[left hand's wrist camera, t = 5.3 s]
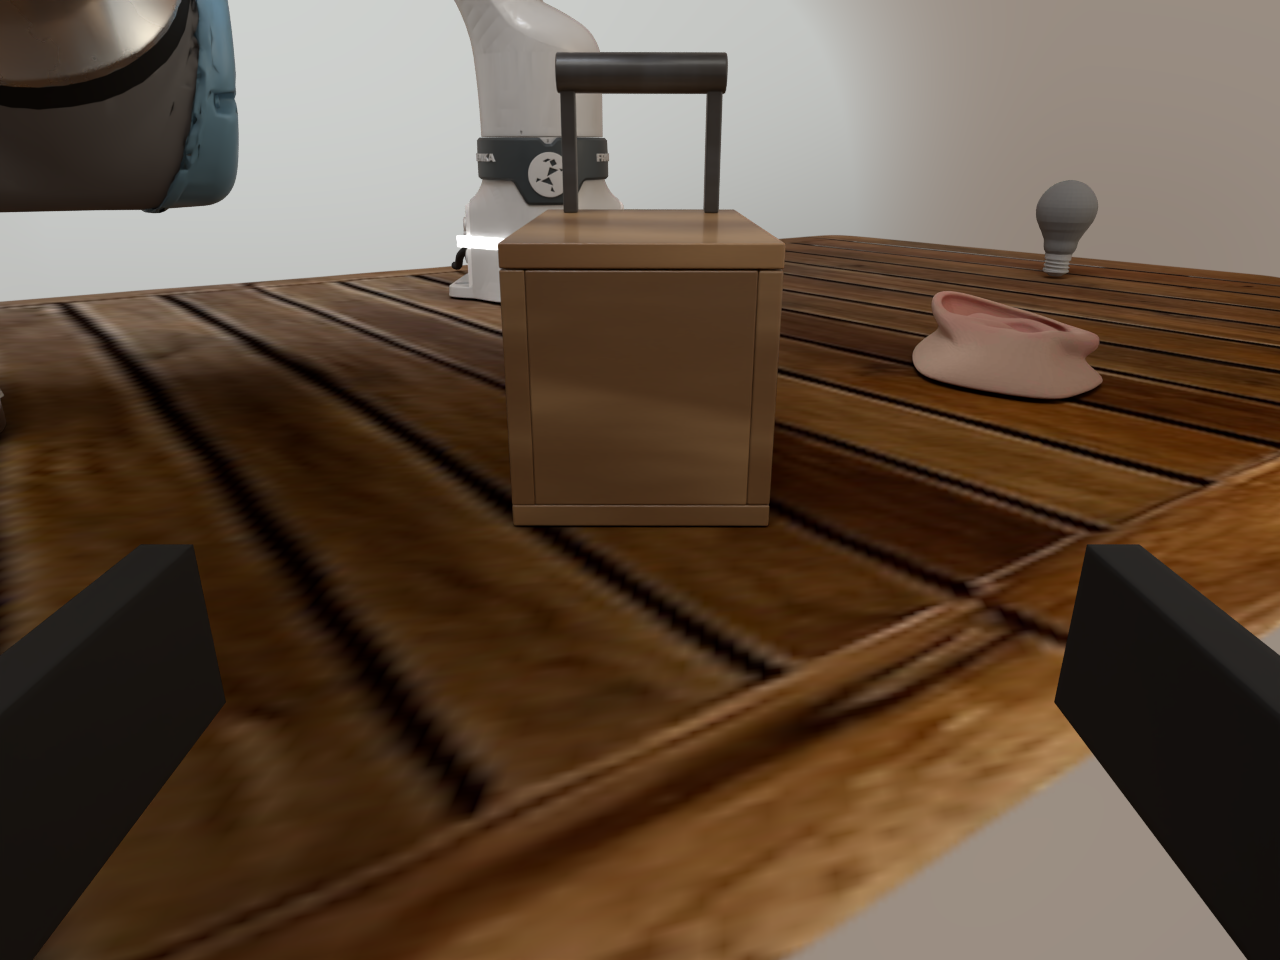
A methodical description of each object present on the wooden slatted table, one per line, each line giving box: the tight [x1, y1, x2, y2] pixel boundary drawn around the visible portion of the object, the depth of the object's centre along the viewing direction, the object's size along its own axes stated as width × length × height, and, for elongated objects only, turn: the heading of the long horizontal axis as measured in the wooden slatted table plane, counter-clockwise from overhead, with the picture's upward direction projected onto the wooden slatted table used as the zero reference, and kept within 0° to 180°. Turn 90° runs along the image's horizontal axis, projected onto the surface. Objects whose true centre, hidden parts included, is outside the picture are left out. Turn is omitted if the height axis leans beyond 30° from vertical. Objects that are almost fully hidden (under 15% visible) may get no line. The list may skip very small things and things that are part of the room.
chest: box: [499, 269, 784, 526], centre depth 38 cm, size 16×10×10 cm, turn 0°
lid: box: [498, 52, 785, 269], centre depth 35 cm, size 17×10×8 cm, turn 0°
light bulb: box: [1036, 180, 1098, 276], centre depth 93 cm, size 6×6×10 cm
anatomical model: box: [912, 291, 1102, 399], centre depth 54 cm, size 13×4×12 cm
